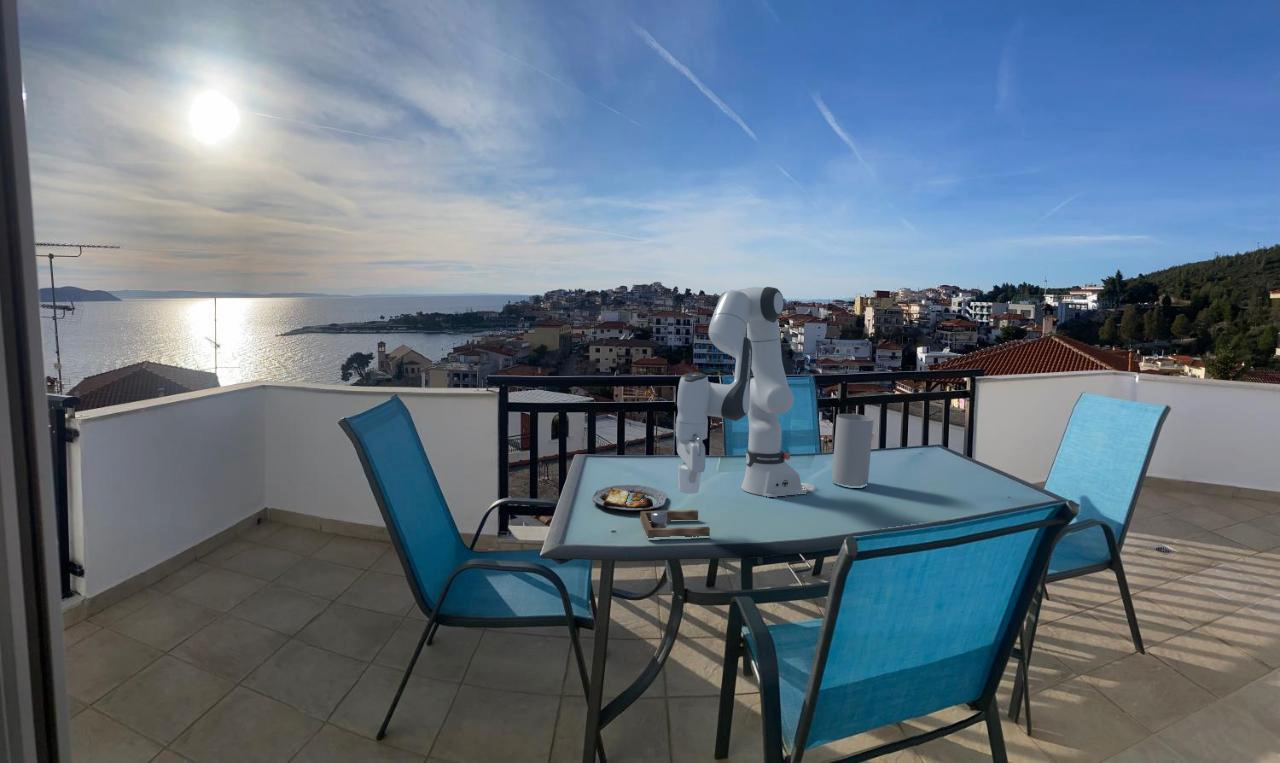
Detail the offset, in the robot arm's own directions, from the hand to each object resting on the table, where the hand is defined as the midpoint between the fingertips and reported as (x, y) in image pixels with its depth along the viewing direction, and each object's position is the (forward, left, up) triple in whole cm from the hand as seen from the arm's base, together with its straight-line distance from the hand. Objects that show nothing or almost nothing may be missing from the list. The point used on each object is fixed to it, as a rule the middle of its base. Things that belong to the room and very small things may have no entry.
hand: (689, 478), depth 169 cm
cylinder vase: (-70, -38, -15) cm, 81 cm away
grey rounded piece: (+8, 0, -15) cm, 17 cm away
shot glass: (0, 0, -4) cm, 4 cm away
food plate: (+13, -24, -15) cm, 32 cm away
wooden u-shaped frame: (+3, 0, -15) cm, 15 cm away
